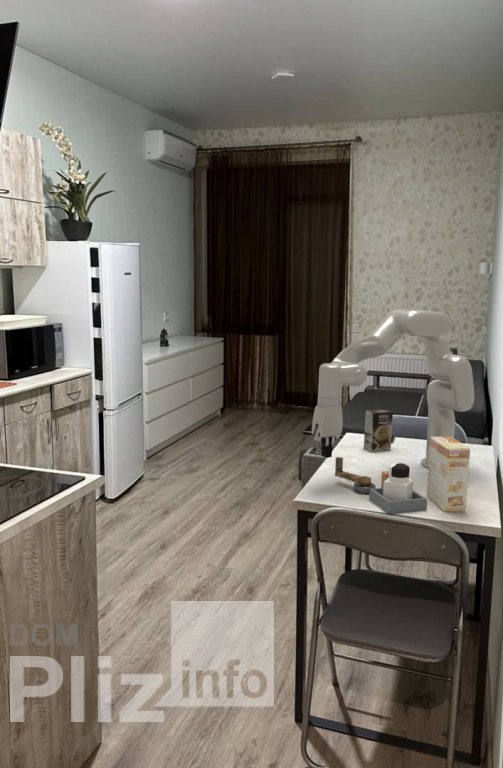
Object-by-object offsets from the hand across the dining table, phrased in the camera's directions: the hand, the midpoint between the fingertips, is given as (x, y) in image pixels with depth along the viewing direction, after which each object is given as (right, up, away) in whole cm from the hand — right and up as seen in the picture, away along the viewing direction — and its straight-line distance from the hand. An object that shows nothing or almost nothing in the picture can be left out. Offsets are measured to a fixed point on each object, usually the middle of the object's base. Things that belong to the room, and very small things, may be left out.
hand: (326, 456), depth 212 cm
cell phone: (+33, 0, +65) cm, 73 cm away
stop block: (+19, -11, -4) cm, 23 cm away
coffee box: (+26, -3, +48) cm, 54 cm away
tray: (+20, -13, -14) cm, 28 cm away
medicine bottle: (+20, -13, -14) cm, 28 cm away
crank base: (+12, -11, -2) cm, 16 cm away
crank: (+9, -8, +1) cm, 12 cm away
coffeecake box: (+35, -13, -12) cm, 40 cm away
